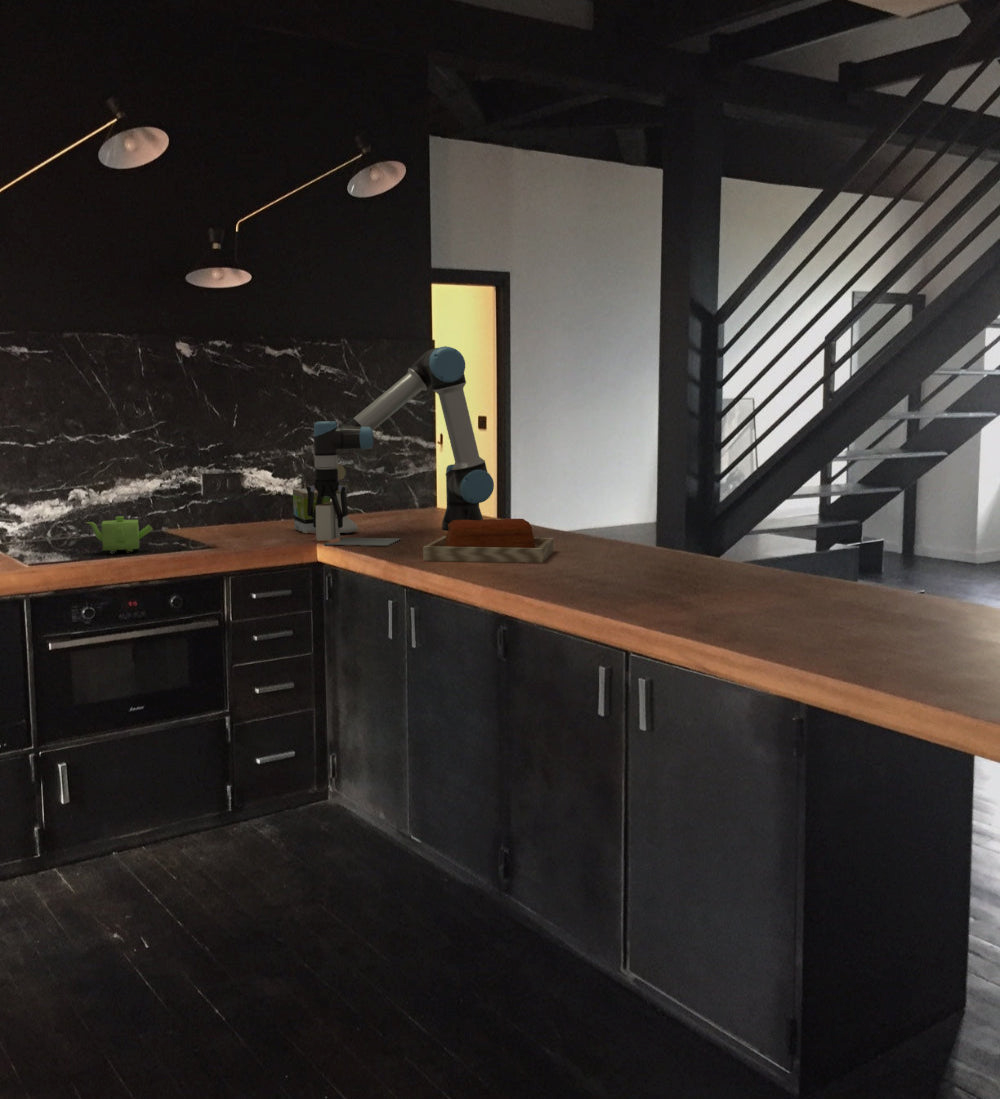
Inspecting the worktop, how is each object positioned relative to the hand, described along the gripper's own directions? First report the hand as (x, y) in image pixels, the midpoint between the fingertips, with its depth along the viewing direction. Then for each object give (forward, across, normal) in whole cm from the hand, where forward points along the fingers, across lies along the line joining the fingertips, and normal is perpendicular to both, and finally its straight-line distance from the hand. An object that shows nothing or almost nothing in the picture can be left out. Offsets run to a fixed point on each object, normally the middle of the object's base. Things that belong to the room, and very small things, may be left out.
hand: (328, 537), depth 381 cm
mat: (+1, -14, +6) cm, 15 cm away
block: (+1, 0, 0) cm, 1 cm away
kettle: (+1, +56, +35) cm, 66 cm away
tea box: (+1, +14, -23) cm, 27 cm away
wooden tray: (+1, -61, +29) cm, 68 cm away
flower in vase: (+1, +2, -18) cm, 18 cm away
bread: (+1, -61, +29) cm, 68 cm away
